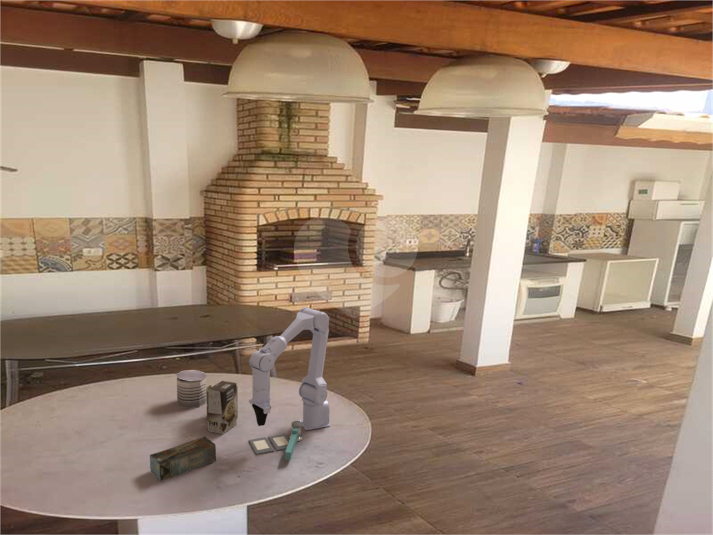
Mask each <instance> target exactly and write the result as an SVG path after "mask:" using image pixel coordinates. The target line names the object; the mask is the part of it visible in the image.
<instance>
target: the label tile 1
mask: <svg viewBox="0 0 713 535" xmlns="http://www.w3.org/2000/svg"><path fill="white" fill-rule="evenodd" d="M248 442H249V445H250V446H251V448H252V450H253V452H254V454H255V455H256V456H260V455H264V453H265V454H269V453H274V452H275V450H274V448H273V447H272V446H273V445H271V443H270V442H269V439H268V437H266V436H263V437H258V438H251V439H248ZM259 454H260V455H259Z"/></svg>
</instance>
